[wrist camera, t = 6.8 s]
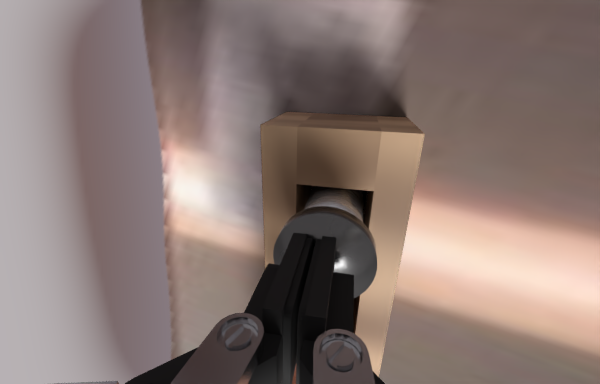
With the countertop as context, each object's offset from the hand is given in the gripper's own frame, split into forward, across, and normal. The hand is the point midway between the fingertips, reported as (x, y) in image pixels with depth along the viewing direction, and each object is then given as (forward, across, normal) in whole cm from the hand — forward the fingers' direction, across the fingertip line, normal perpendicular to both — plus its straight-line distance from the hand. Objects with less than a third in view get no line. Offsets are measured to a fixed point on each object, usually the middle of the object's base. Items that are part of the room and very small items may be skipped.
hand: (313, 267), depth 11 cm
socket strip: (+8, 0, +6) cm, 10 cm away
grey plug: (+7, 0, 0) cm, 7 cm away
